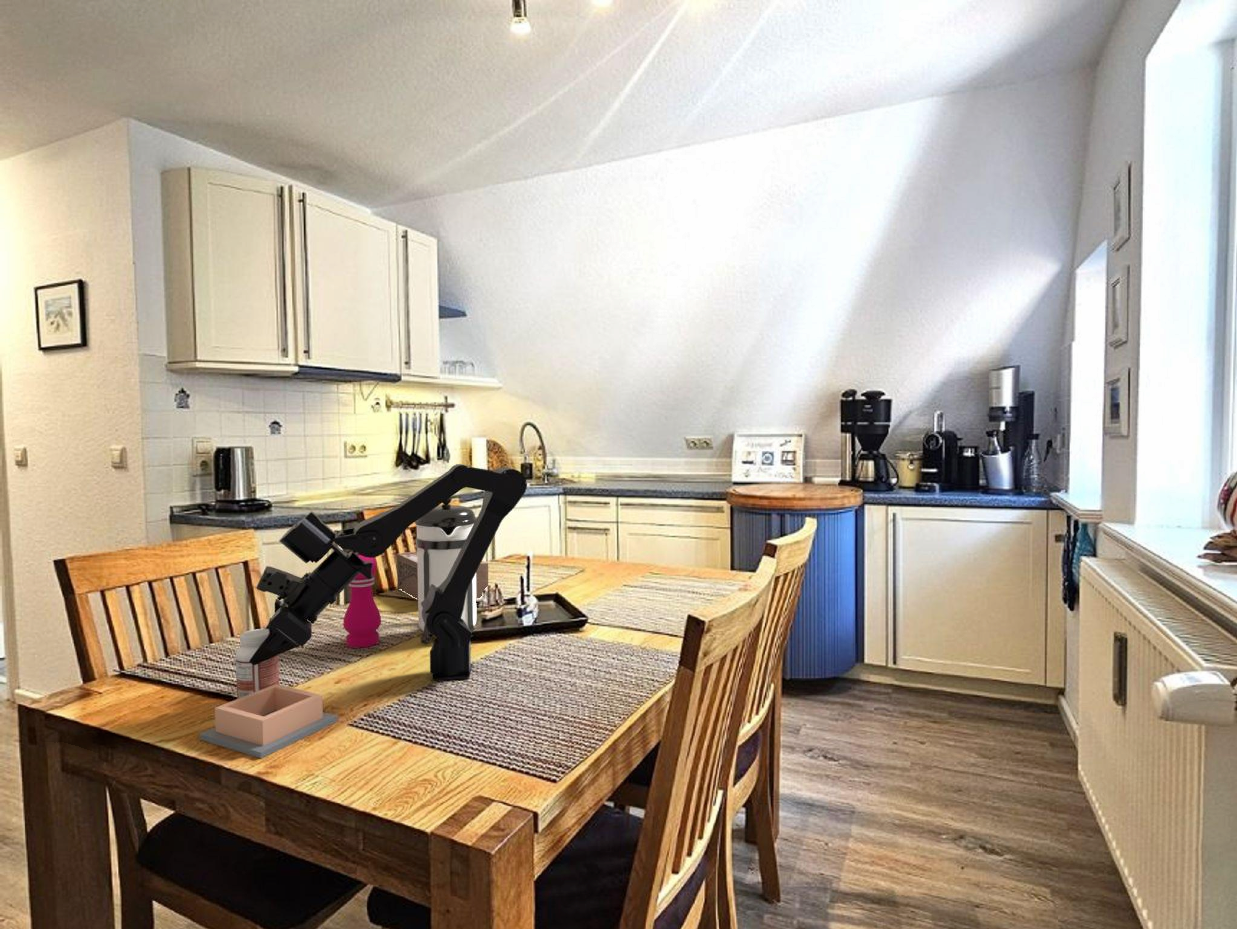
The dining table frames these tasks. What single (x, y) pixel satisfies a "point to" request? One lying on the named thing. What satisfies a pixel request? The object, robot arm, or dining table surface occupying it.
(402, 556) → the tissue box cover
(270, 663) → the pill bottle
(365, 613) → the pepper mill
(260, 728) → the bottle stand
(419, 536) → the coffee press
